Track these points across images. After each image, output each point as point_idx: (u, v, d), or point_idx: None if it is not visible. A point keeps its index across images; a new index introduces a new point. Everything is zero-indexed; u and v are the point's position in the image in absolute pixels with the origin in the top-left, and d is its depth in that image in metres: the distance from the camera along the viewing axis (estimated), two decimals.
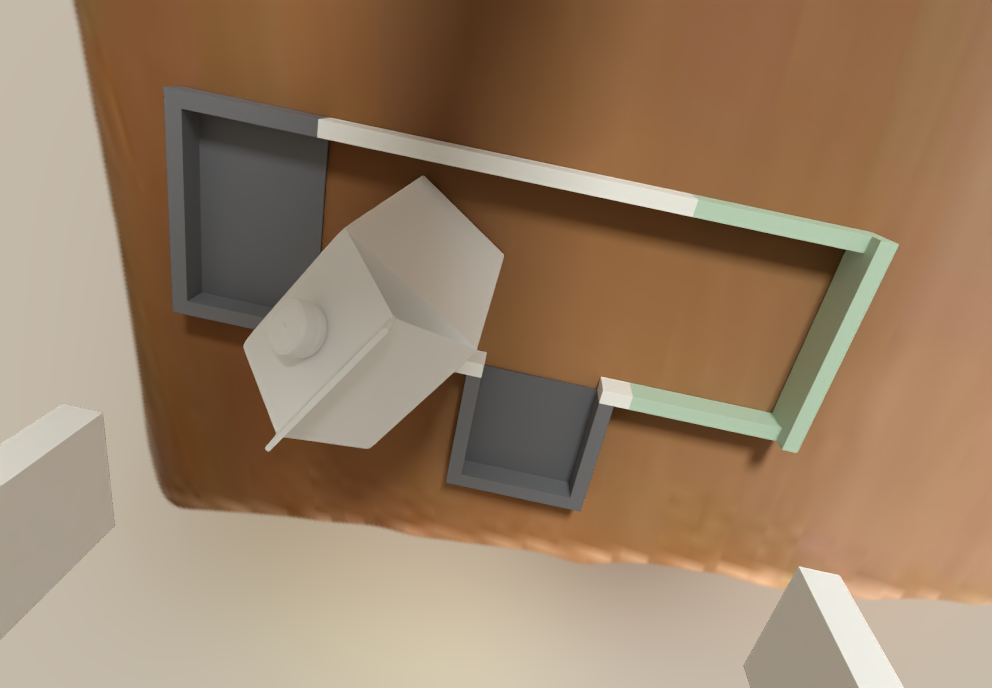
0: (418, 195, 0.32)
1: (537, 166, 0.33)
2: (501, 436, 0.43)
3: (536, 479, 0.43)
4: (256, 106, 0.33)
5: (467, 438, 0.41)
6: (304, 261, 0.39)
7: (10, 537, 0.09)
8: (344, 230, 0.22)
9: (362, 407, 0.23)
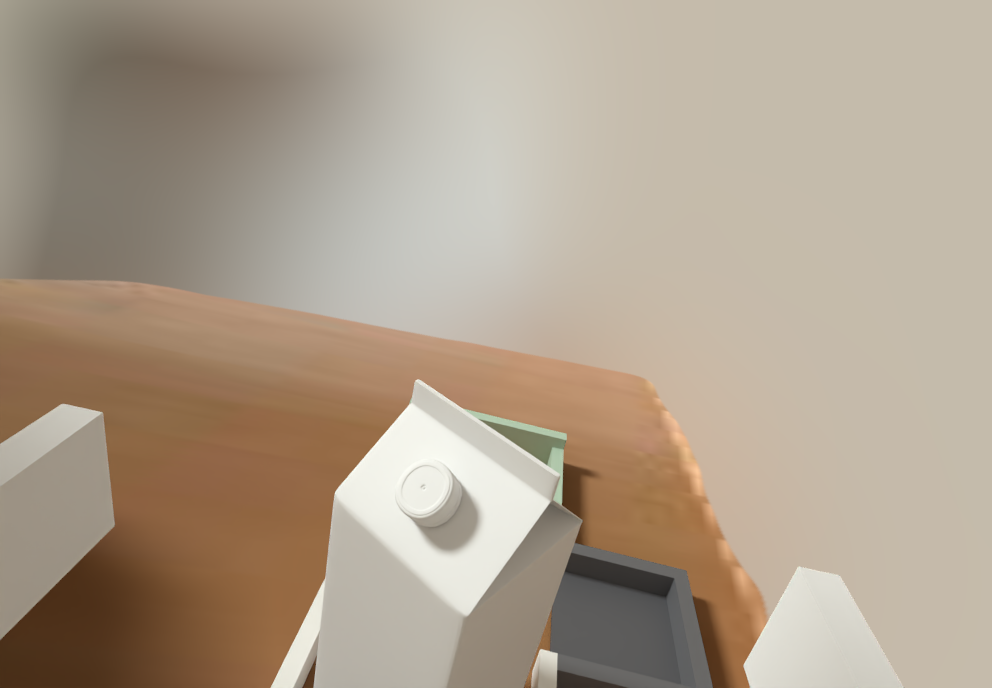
0: None
1: (323, 583, 0.34)
2: (635, 660, 0.36)
3: (673, 622, 0.38)
4: None
5: (642, 676, 0.33)
6: None
7: (10, 537, 0.09)
8: (336, 493, 0.22)
9: None
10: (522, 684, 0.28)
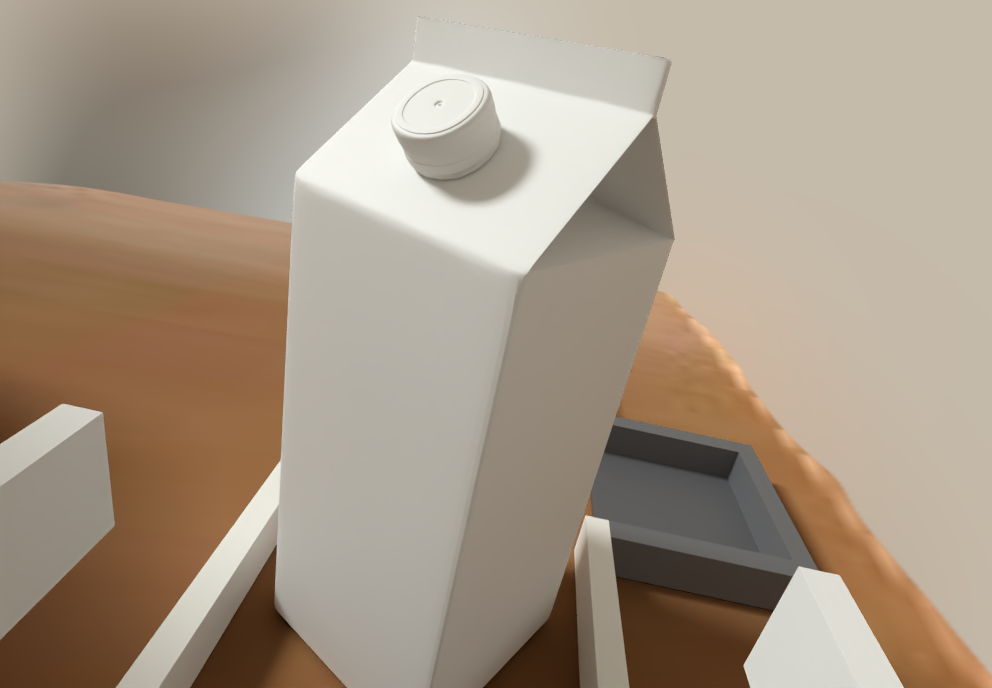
0: None
1: None
2: (703, 540, 0.28)
3: (743, 500, 0.30)
4: None
5: (721, 546, 0.25)
6: None
7: (10, 537, 0.09)
8: (298, 173, 0.14)
9: None
10: (575, 530, 0.20)
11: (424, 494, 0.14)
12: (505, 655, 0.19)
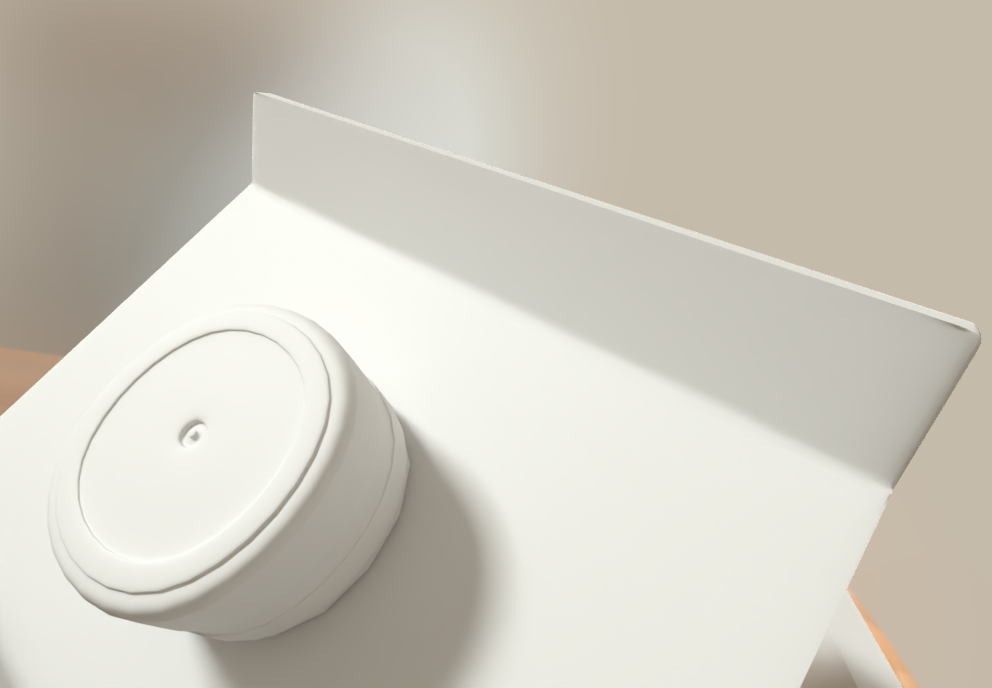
0: None
1: None
2: None
3: None
4: None
5: None
6: None
7: None
8: None
9: None
10: None
11: None
12: None
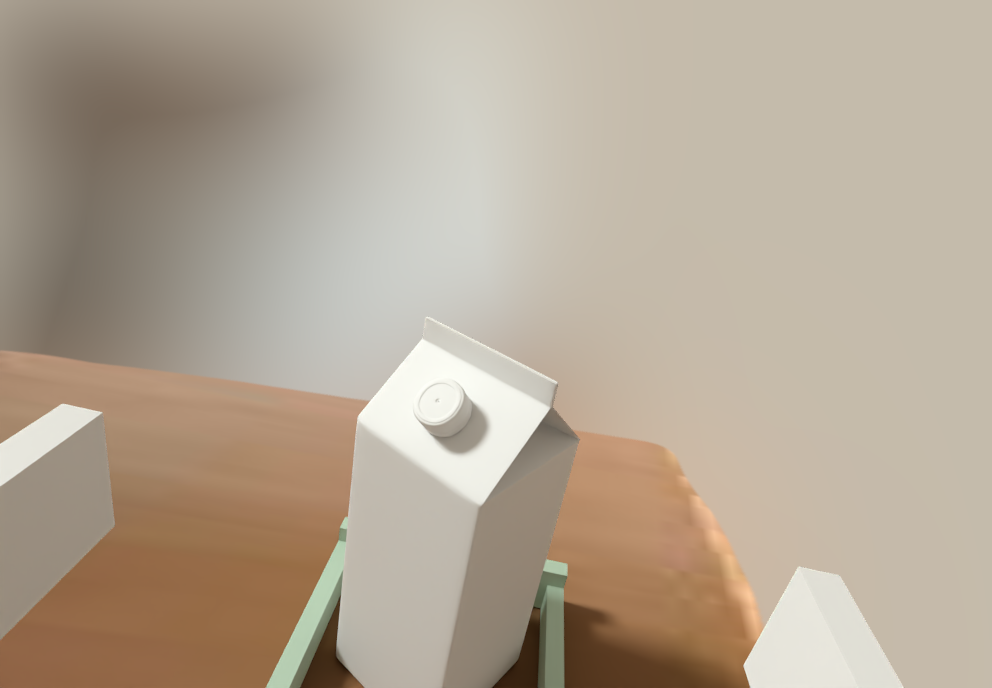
0: None
1: None
2: None
3: None
4: None
5: None
6: None
7: (10, 537, 0.09)
8: (359, 417, 0.25)
9: None
10: (531, 604, 0.30)
11: (433, 601, 0.24)
12: (486, 687, 0.30)
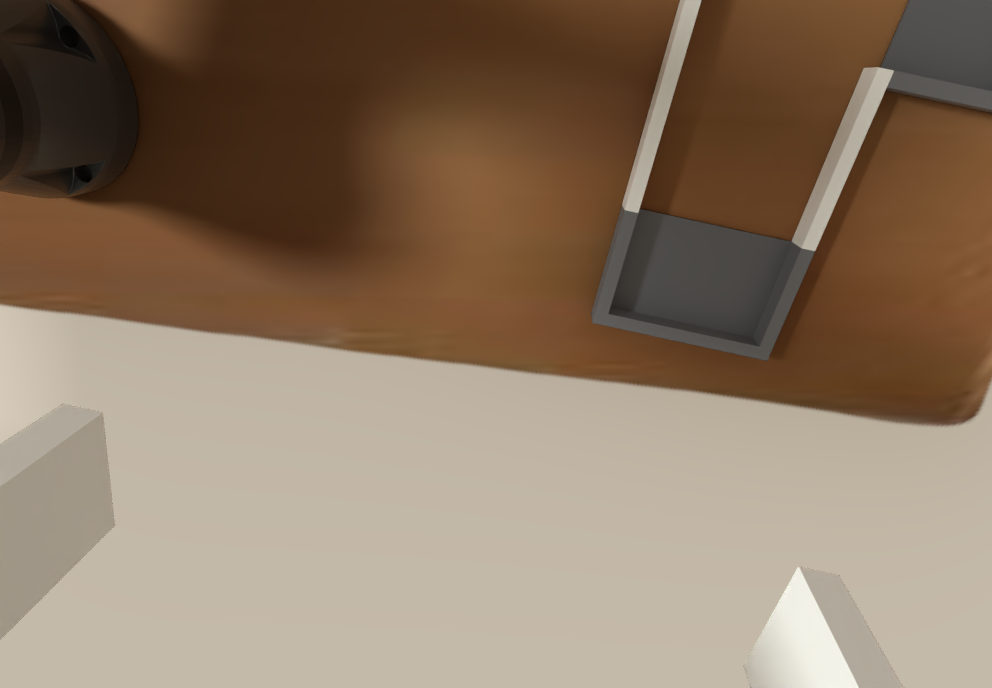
0: None
1: (682, 11, 0.37)
2: (976, 49, 0.38)
3: None
4: (611, 257, 0.44)
5: (969, 88, 0.37)
6: (738, 244, 0.44)
7: (10, 537, 0.09)
8: None
9: None
10: None
11: None
12: None
